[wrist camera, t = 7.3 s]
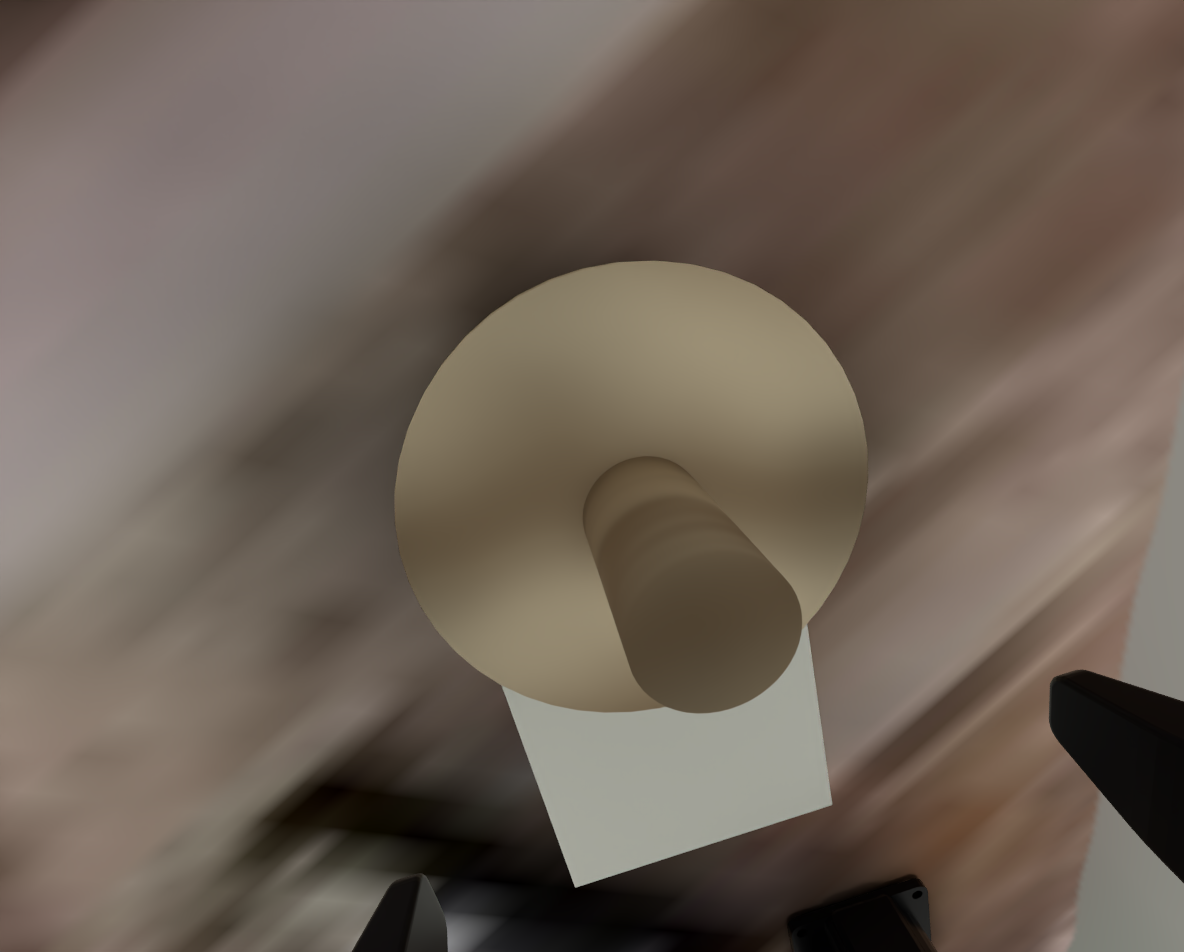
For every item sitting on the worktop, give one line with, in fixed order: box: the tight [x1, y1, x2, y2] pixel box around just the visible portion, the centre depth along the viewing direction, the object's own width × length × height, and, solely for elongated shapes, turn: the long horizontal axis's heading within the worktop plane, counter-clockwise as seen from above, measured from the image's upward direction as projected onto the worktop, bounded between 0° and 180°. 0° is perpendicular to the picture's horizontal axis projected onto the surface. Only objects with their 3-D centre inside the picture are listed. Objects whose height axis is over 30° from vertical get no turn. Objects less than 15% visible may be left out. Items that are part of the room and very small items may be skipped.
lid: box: [395, 261, 868, 714], centre depth 12 cm, size 11×11×6 cm
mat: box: [502, 624, 832, 888], centre depth 23 cm, size 11×11×1 cm
